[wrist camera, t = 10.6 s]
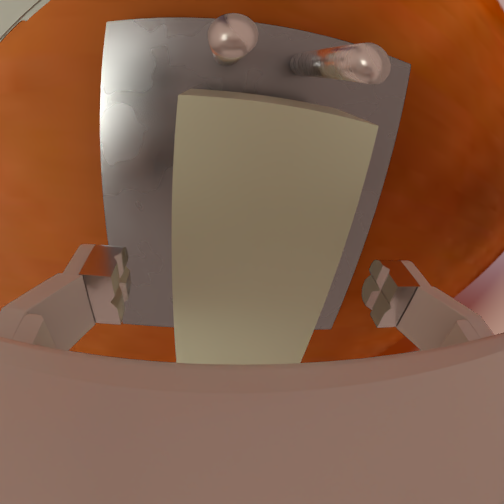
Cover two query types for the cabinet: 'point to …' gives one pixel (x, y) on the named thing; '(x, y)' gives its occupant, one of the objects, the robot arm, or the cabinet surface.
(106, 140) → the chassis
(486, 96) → the cabinet surface
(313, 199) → the board
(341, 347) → the cabinet surface
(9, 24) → the metal bracket
